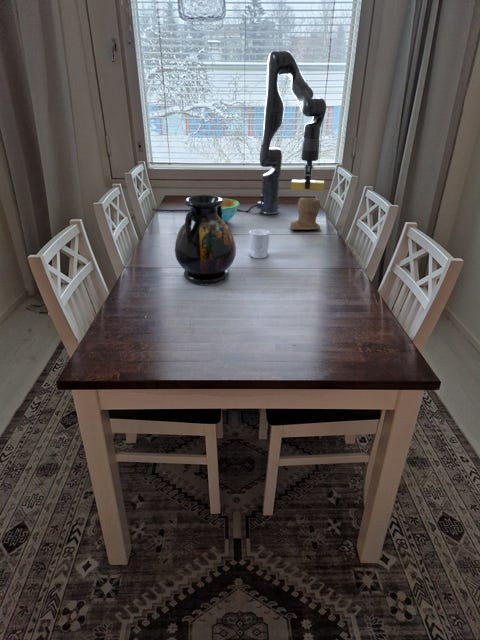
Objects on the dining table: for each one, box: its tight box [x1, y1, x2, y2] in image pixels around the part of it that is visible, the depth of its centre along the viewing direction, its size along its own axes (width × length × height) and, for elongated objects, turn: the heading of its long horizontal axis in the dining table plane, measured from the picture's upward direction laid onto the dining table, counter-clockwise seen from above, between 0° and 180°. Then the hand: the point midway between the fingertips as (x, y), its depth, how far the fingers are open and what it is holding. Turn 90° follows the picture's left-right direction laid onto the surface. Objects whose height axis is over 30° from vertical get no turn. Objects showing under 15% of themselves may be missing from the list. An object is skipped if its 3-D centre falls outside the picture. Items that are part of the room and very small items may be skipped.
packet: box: [290, 179, 325, 192], centre depth 191 cm, size 15×6×4 cm, turn 80°
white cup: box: [249, 228, 270, 259], centre depth 166 cm, size 8×8×10 cm
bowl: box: [220, 197, 240, 224], centre depth 207 cm, size 22×22×10 cm
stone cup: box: [289, 197, 321, 231], centre depth 198 cm, size 15×12×15 cm
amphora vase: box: [174, 194, 237, 286], centre depth 143 cm, size 22×22×28 cm
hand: (307, 187), depth 192 cm, fingers closed on packet, 6 cm apart
